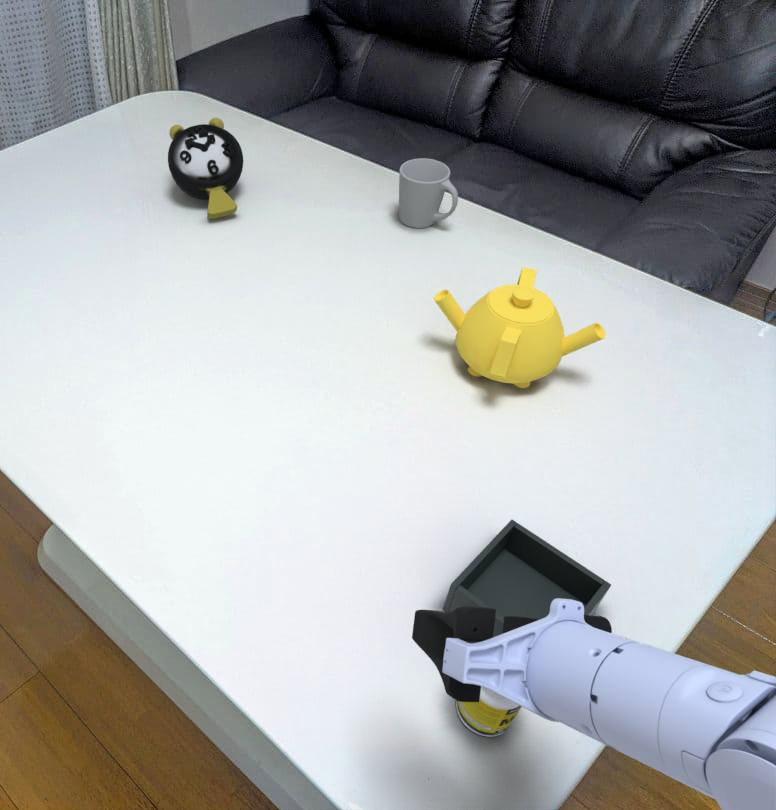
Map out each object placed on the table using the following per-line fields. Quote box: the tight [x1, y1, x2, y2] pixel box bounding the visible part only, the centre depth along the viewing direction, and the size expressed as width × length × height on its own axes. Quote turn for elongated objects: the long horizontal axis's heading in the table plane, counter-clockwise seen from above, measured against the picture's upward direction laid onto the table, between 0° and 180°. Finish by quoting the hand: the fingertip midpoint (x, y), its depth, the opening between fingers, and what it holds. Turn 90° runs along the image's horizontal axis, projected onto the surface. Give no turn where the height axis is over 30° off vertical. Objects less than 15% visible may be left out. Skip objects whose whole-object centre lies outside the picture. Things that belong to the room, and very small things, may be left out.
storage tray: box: [442, 519, 612, 637], centre depth 68 cm, size 10×10×5 cm
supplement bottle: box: [455, 686, 522, 738], centre depth 60 cm, size 5×5×8 cm
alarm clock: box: [167, 117, 244, 220], centre depth 121 cm, size 12×15×15 cm
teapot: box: [433, 266, 606, 389], centre depth 90 cm, size 20×18×11 cm
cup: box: [398, 157, 459, 229], centre depth 114 cm, size 8×10×8 cm
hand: (463, 628), depth 52 cm, fingers open, 7 cm apart
